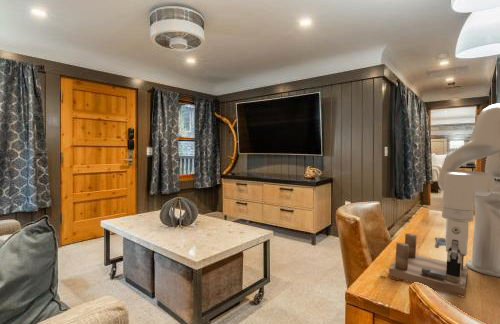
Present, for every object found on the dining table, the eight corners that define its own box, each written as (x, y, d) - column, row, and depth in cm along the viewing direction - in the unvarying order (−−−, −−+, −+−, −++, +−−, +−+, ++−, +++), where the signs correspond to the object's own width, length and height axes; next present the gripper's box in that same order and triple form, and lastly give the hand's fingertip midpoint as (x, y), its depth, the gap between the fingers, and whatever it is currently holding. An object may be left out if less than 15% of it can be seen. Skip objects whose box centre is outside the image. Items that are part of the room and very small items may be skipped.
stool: (402, 258, 109) (403, 231, 109) (467, 273, 97) (469, 243, 96) (388, 275, 94) (390, 244, 93) (464, 297, 81) (466, 261, 81)
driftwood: (435, 238, 136) (435, 234, 136) (452, 241, 132) (452, 237, 132) (433, 251, 119) (433, 247, 119) (453, 255, 116) (453, 250, 115)
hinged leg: (420, 273, 89) (422, 249, 88) (422, 270, 92) (423, 245, 91) (460, 283, 83) (462, 257, 83) (460, 279, 86) (462, 253, 85)
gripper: (473, 222, 75) (469, 284, 76) (472, 210, 89) (469, 264, 90) (439, 217, 80) (436, 276, 81) (443, 207, 93) (440, 258, 94)
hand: (453, 269), depth 85 cm, fingers open, 9 cm apart
